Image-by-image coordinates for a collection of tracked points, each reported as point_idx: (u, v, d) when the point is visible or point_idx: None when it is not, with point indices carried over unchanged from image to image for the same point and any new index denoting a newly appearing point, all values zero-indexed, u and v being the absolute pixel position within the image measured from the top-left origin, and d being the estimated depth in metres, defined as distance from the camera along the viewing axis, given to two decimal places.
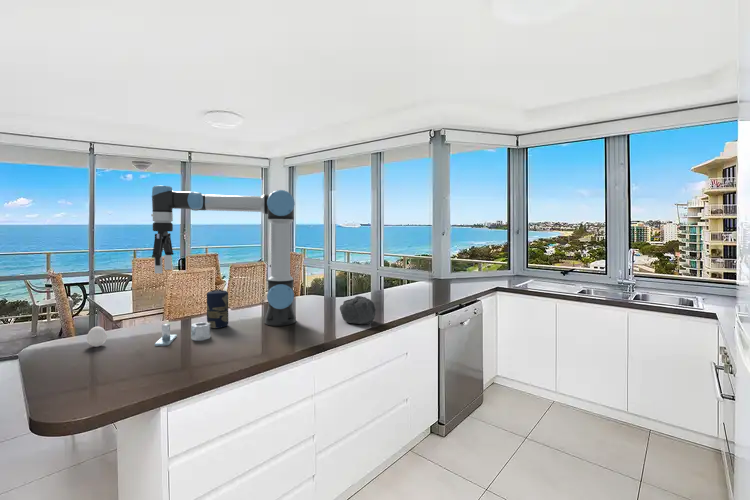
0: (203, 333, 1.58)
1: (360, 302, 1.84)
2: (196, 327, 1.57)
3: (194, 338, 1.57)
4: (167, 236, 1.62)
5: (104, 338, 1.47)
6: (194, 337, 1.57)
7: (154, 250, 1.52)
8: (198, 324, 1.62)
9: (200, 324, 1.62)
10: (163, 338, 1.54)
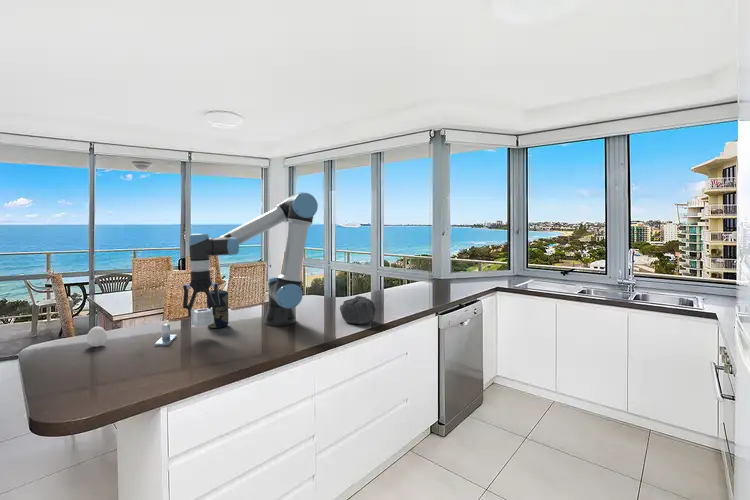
0: (205, 319, 1.58)
1: (360, 302, 1.84)
2: (197, 313, 1.56)
3: (196, 324, 1.57)
4: (202, 284, 1.58)
5: (104, 338, 1.47)
6: (196, 323, 1.57)
7: None
8: (199, 310, 1.62)
9: (201, 310, 1.62)
10: (163, 338, 1.54)
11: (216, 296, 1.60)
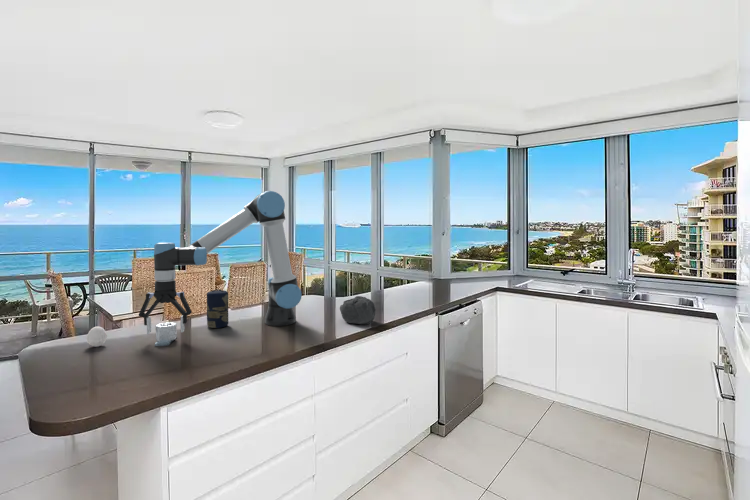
0: (168, 334, 1.52)
1: (360, 302, 1.84)
2: (160, 327, 1.51)
3: (158, 339, 1.52)
4: (166, 295, 1.53)
5: (104, 338, 1.47)
6: (158, 338, 1.52)
7: None
8: None
9: None
10: None
11: (184, 305, 1.55)
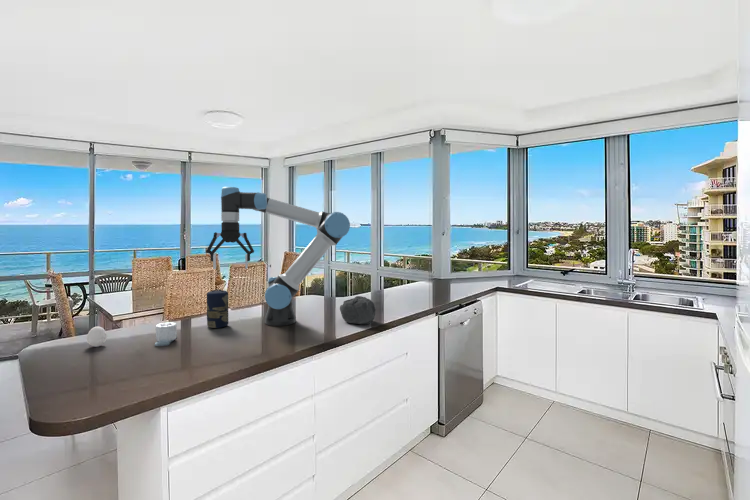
0: (168, 334, 1.52)
1: (360, 302, 1.84)
2: (160, 327, 1.51)
3: (158, 339, 1.52)
4: (231, 235, 1.68)
5: (104, 338, 1.47)
6: (158, 338, 1.52)
7: None
8: None
9: None
10: None
11: (248, 244, 1.70)
